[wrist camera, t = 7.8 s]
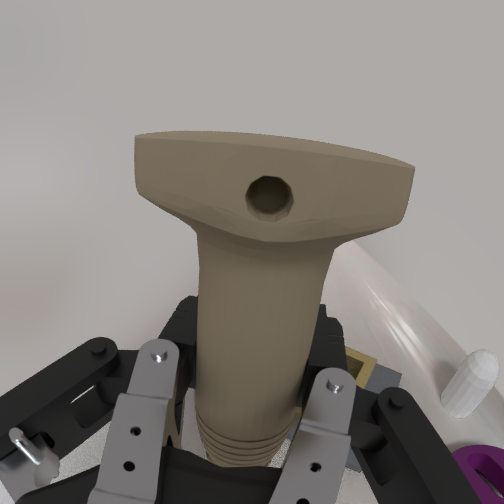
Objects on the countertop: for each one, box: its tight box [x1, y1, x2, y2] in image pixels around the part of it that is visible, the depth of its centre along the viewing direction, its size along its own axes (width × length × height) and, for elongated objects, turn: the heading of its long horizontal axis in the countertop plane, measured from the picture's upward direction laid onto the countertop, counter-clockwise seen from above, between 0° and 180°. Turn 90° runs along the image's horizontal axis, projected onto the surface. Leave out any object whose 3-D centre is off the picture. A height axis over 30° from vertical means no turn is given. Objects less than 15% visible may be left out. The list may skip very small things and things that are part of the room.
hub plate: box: [286, 346, 402, 472], centre depth 28 cm, size 18×14×4 cm
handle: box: [134, 131, 415, 467], centre depth 10 cm, size 5×6×15 cm
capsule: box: [441, 349, 500, 419], centre depth 23 cm, size 5×5×8 cm
